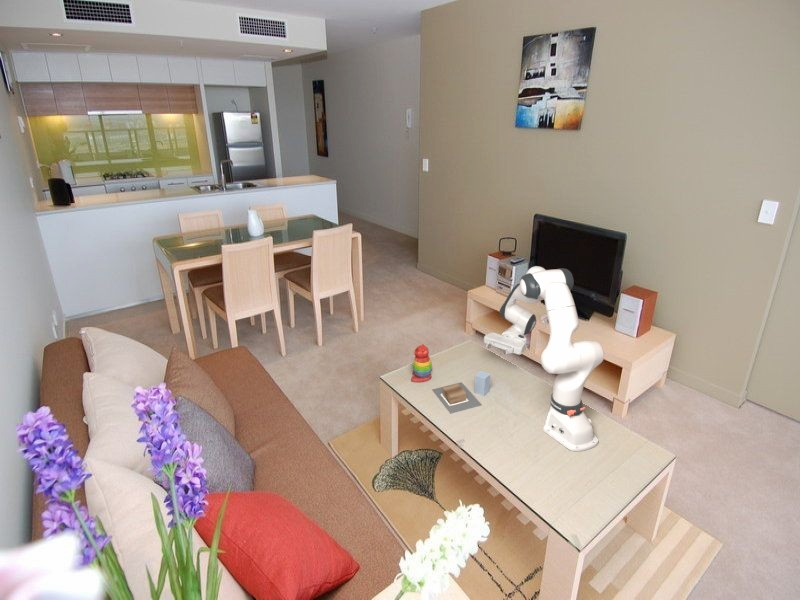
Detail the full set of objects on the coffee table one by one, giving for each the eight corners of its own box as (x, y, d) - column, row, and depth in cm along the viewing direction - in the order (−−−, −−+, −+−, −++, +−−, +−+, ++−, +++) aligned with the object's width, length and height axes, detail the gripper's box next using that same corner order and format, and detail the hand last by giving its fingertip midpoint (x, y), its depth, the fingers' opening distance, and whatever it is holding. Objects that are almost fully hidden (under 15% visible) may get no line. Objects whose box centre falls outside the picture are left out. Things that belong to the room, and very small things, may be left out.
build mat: (482, 405, 209) (482, 405, 208) (450, 414, 204) (450, 413, 203) (461, 382, 226) (461, 382, 226) (431, 390, 221) (431, 389, 221)
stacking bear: (412, 371, 237) (412, 340, 230) (432, 372, 235) (432, 341, 228) (410, 382, 227) (409, 351, 220) (431, 384, 226) (431, 352, 218)
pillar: (489, 392, 218) (490, 374, 214) (483, 397, 215) (484, 378, 211) (480, 388, 221) (480, 370, 217) (474, 393, 218) (475, 375, 214)
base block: (466, 400, 212) (466, 393, 210) (450, 404, 210) (450, 397, 208) (458, 391, 219) (458, 383, 217) (442, 394, 216) (442, 387, 215)
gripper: (491, 327, 234) (477, 337, 224) (529, 338, 222) (516, 350, 212) (491, 337, 237) (477, 348, 227) (528, 350, 225) (515, 362, 215)
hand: (496, 349), depth 220 cm, fingers open, 8 cm apart
